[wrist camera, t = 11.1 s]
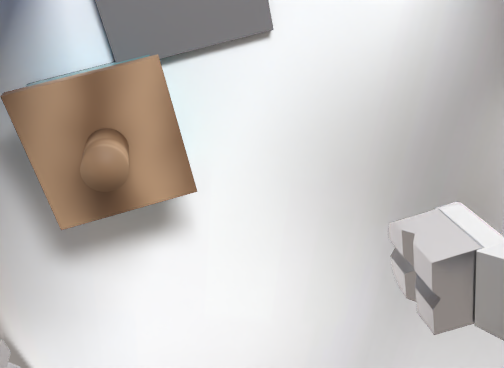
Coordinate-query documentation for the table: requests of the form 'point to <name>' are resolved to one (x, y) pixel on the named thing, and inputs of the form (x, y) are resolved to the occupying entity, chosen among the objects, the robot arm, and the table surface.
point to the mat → (178, 24)
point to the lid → (102, 140)
